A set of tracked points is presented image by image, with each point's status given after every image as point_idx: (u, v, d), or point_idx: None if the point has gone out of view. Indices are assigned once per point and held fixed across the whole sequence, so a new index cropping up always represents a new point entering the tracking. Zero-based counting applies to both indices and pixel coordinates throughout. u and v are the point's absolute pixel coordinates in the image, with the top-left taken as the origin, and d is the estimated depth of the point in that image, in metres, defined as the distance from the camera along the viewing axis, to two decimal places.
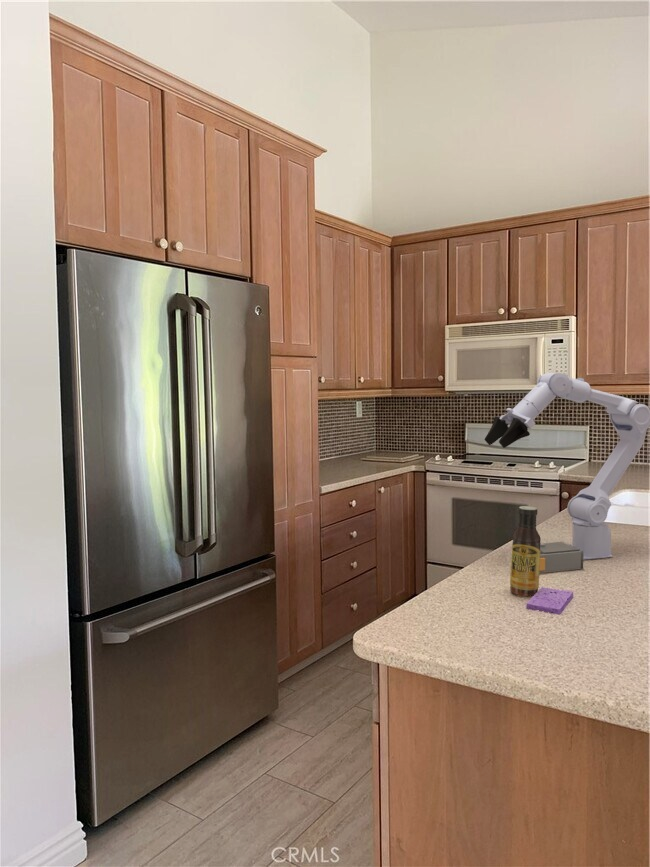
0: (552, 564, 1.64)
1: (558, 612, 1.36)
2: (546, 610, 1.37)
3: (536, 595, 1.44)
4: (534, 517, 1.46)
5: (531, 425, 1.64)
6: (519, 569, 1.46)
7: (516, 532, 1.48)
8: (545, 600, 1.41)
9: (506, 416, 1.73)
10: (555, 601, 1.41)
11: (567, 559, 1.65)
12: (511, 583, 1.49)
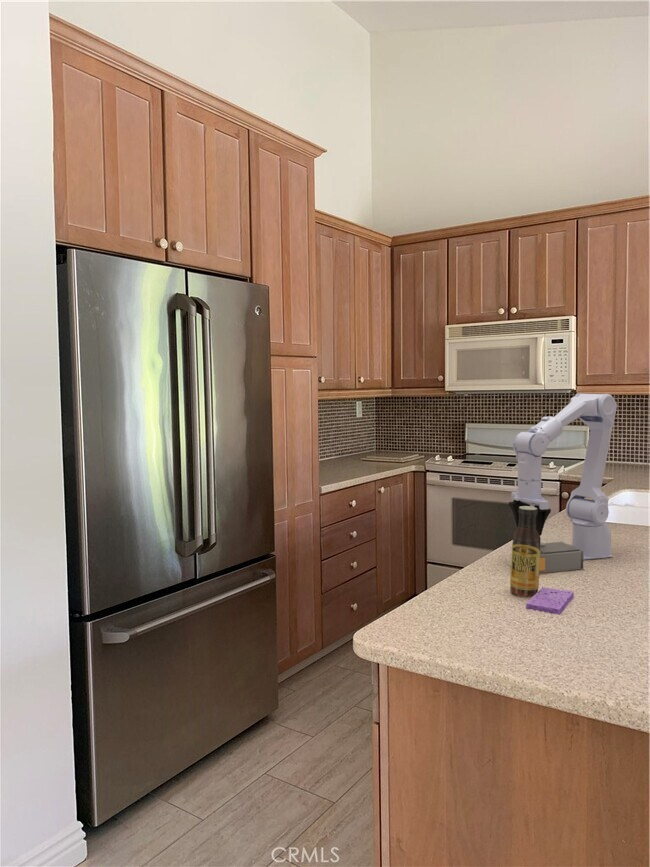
0: (552, 564, 1.64)
1: (558, 612, 1.36)
2: (546, 610, 1.37)
3: (536, 595, 1.44)
4: (534, 517, 1.46)
5: (547, 506, 1.60)
6: (519, 569, 1.46)
7: (516, 532, 1.48)
8: (545, 600, 1.41)
9: None
10: (555, 601, 1.40)
11: (567, 559, 1.65)
12: (511, 583, 1.49)
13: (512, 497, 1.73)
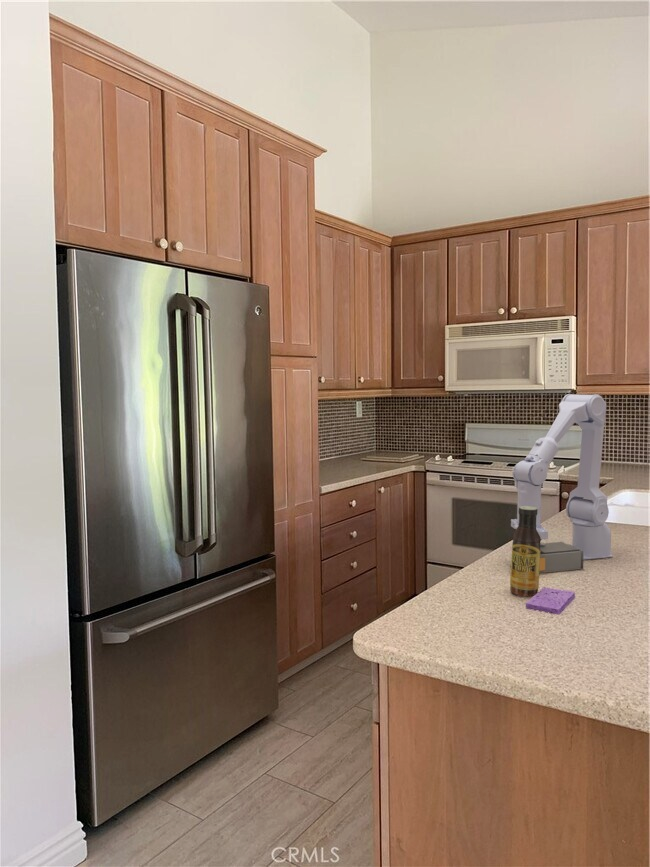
0: (552, 564, 1.64)
1: (557, 612, 1.36)
2: (545, 610, 1.37)
3: (537, 595, 1.44)
4: (534, 517, 1.46)
5: (546, 535, 1.60)
6: (519, 569, 1.46)
7: (516, 532, 1.48)
8: (545, 600, 1.41)
9: None
10: (555, 601, 1.40)
11: (567, 559, 1.65)
12: (511, 583, 1.49)
13: (512, 524, 1.74)
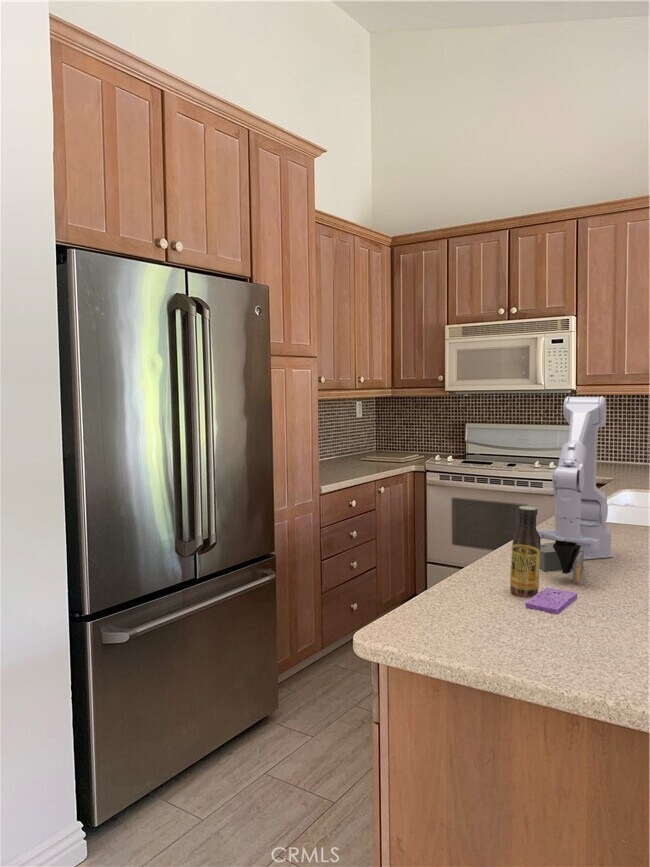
0: None
1: (556, 612, 1.36)
2: (544, 610, 1.38)
3: (538, 595, 1.44)
4: (534, 517, 1.46)
5: (598, 544, 1.51)
6: (519, 569, 1.46)
7: (516, 532, 1.48)
8: (545, 600, 1.41)
9: None
10: (555, 601, 1.40)
11: (580, 562, 1.62)
12: (511, 583, 1.49)
13: None
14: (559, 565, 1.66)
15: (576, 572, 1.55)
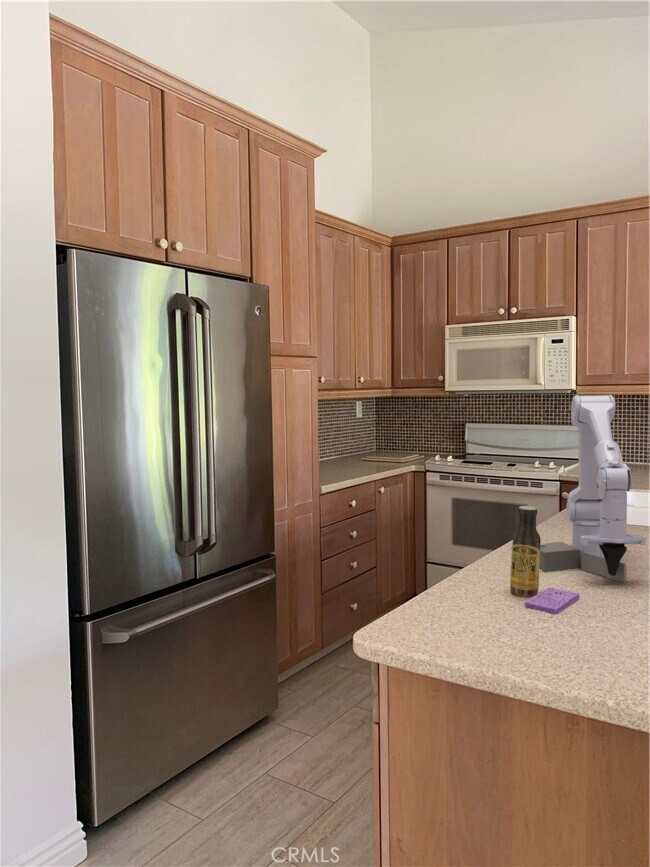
0: None
1: (555, 612, 1.36)
2: (543, 610, 1.38)
3: (539, 595, 1.44)
4: (534, 517, 1.46)
5: None
6: (519, 569, 1.46)
7: (516, 532, 1.48)
8: (546, 600, 1.41)
9: None
10: (555, 601, 1.40)
11: None
12: (511, 583, 1.49)
13: (585, 543, 1.54)
14: (559, 565, 1.66)
15: (625, 571, 1.55)
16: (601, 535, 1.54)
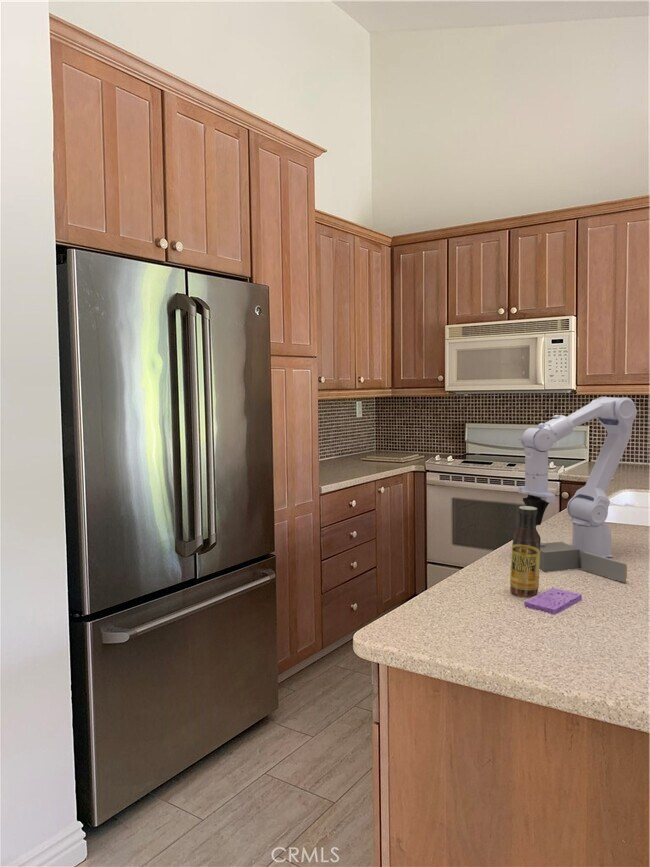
0: None
1: (553, 612, 1.36)
2: (542, 609, 1.38)
3: (540, 594, 1.45)
4: (534, 517, 1.46)
5: (553, 499, 1.66)
6: (519, 569, 1.46)
7: (516, 532, 1.48)
8: (546, 600, 1.41)
9: None
10: (556, 602, 1.40)
11: None
12: (511, 583, 1.49)
13: (519, 491, 1.79)
14: (559, 565, 1.66)
15: (626, 571, 1.55)
16: None
